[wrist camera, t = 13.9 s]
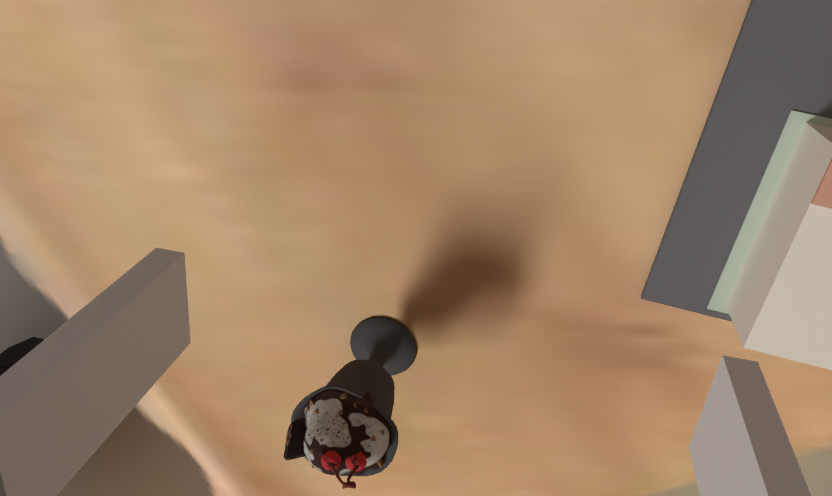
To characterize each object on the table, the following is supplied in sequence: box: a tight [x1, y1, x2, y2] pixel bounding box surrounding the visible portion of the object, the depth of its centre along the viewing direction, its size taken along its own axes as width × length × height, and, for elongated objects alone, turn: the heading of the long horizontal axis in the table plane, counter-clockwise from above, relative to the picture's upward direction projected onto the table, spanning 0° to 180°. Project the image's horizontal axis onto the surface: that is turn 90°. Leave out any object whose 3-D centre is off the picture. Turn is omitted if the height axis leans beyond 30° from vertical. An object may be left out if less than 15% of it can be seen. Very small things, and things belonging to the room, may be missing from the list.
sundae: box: [284, 317, 416, 489], centre depth 44 cm, size 7×7×15 cm
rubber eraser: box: [726, 122, 832, 370], centre depth 38 cm, size 12×6×5 cm, turn 170°
